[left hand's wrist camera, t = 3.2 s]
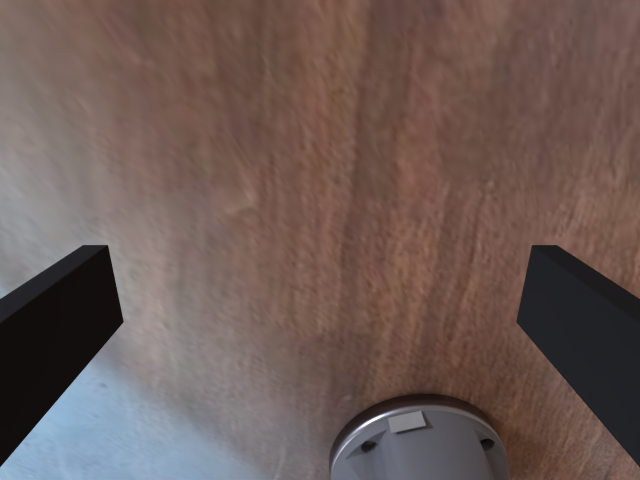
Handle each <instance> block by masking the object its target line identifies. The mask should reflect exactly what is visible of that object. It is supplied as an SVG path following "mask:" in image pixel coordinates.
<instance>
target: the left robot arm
mask: <svg viewBox="0 0 640 480" xmlns="http://www.w3.org/2000/svg"><path fill="white" fill-rule="evenodd" d="M122 323H123V317H122V312H121V307H120V302H119V297H118V292H117V287H116V283H115V278H114V273H113V268H112V263H111V258H110V253H109V248H108V245H83V246H81V247H80V248H78V249H77V250H75V251H74V252H72V253H70V254H69V255H67V256H66V257H64V258H63V259H61V260H60V261H58V262H57V263H55V264H54V265H52V266H50V267H49V268H47V269H46V270H44V271H43V272H41V273H40V274H38V275H37V276H35V277H34V278H32V279H31V280H29V281H27V282H26V283H24V284H23V285H21V286H20V287H18V288H17V289H15V290H14V291H12V292H11V293H9V294H7V295H6V296H4V297H3V298H1V299H0V467H1V466H2V464H3V463H4V462H5V461H6V460H7V459H8V457H9V456H10V455H11V454H12V453H13V452H14V450H15V449H16V448H17V447H18V446H19V444H20V443H21V442H22V441H23V440H24V439H25V437H26V436H27V435H28V434H29V433H30V432H31V430H32V429H33V428H34V427H35V426H36V424H37V423H38V422H39V421H40V420H41V419H42V417H43V416H44V415H45V414H46V413H47V412H48V410H49V409H50V408H51V407H52V406H53V404H54V403H55V402H56V401H57V400H58V399H59V397H60V396H61V395H62V394H63V393H64V392H65V390H66V389H67V388H68V387H69V386H70V384H71V383H72V382H73V381H74V380H75V379H76V377H77V376H78V375H79V374H80V373H81V372H82V370H83V369H84V368H85V367H86V366H87V364H88V363H89V362H90V361H91V360H92V359H93V357H94V356H95V355H96V354H97V353H98V352H99V350H100V349H101V348H102V347H103V346H104V344H105V343H106V342H107V341H108V340H109V339H110V337H111V336H112V335H113V334H114V333H115V332H116V330H117V329H118V328H119V327H120V326H121V325H122ZM517 323H518V325H519V326H520V327H521V328H522V329H523V330H524V332H525V333H526V334H527V335H528V336H529V337H530V339H531V340H532V341H533V342H534V343H535V344H536V346H537V347H538V348H539V349H540V350H541V352H542V353H543V354H544V355H545V356H546V357H547V359H548V360H549V361H550V362H551V363H552V364H553V366H554V367H555V368H556V369H557V370H558V372H559V373H560V374H561V375H562V376H563V377H564V379H565V380H566V381H567V382H568V383H569V384H570V386H571V387H572V388H573V389H574V390H575V392H576V393H577V394H578V395H579V396H580V397H581V399H582V400H583V401H584V402H585V403H586V404H587V406H588V407H589V408H590V409H591V410H592V412H593V413H594V414H595V415H596V416H597V417H598V419H599V420H600V421H601V422H602V423H603V424H604V426H605V427H606V428H607V429H608V430H609V432H610V433H611V434H612V435H613V436H614V437H615V439H616V440H617V441H618V442H619V443H620V444H621V446H622V447H623V448H624V449H625V450H626V452H627V453H628V454H629V455H630V456H631V457H632V459H633V460H634V461H635V462H636V463H637V464H638V466H639V467H640V299H639V298H637V297H636V296H634V295H633V294H631V293H629V292H628V291H626V290H625V289H623V288H622V287H620V286H619V285H617V284H616V283H614V282H613V281H611V280H609V279H608V278H606V277H605V276H603V275H602V274H600V273H599V272H597V271H596V270H594V269H593V268H591V267H590V266H588V265H586V264H585V263H583V262H582V261H580V260H579V259H577V258H576V257H574V256H573V255H571V254H570V253H568V252H566V251H565V250H563V249H562V248H560V247H559V246H557V245H532V248H531V253H530V258H529V263H528V268H527V273H526V278H525V283H524V287H523V292H522V297H521V302H520V307H519V312H518V317H517ZM329 467H330V480H511V475H510V469H509V463H508V458H507V453H506V450H505V447H504V445H503V443H502V441H501V439H500V437H499V435H498V433H497V432H496V430H495V428H494V426H493V424H492V423H491V421H490V420H489V419H488V418H487V417H486V416H485V415H484V414H483V413H482V412H481V411H480V410H479V409H477V408H475V407H474V406H472V405H470V404H468V403H466V402H464V401H462V400H459V399H456V398H452V397H448V396H443V395H434V394H417V395H408V396H402V397H397V398H394V399H390V400H387V401H384V402H381V403H379V404H377V405H374V406H372V407H370V408H369V409H367V410H365V411H363V412H362V413H360V414H359V415H357V416H356V417H355V418H354V419H352V420H351V421H350V422H349V423H348V424H347V425H346V426H345V427H344V428H343V429H342V431H341V432H340V433H339V435H338V436H337V438H336V440H335V442H334V444H333V446H332V449H331V453H330V459H329Z"/></svg>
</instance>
